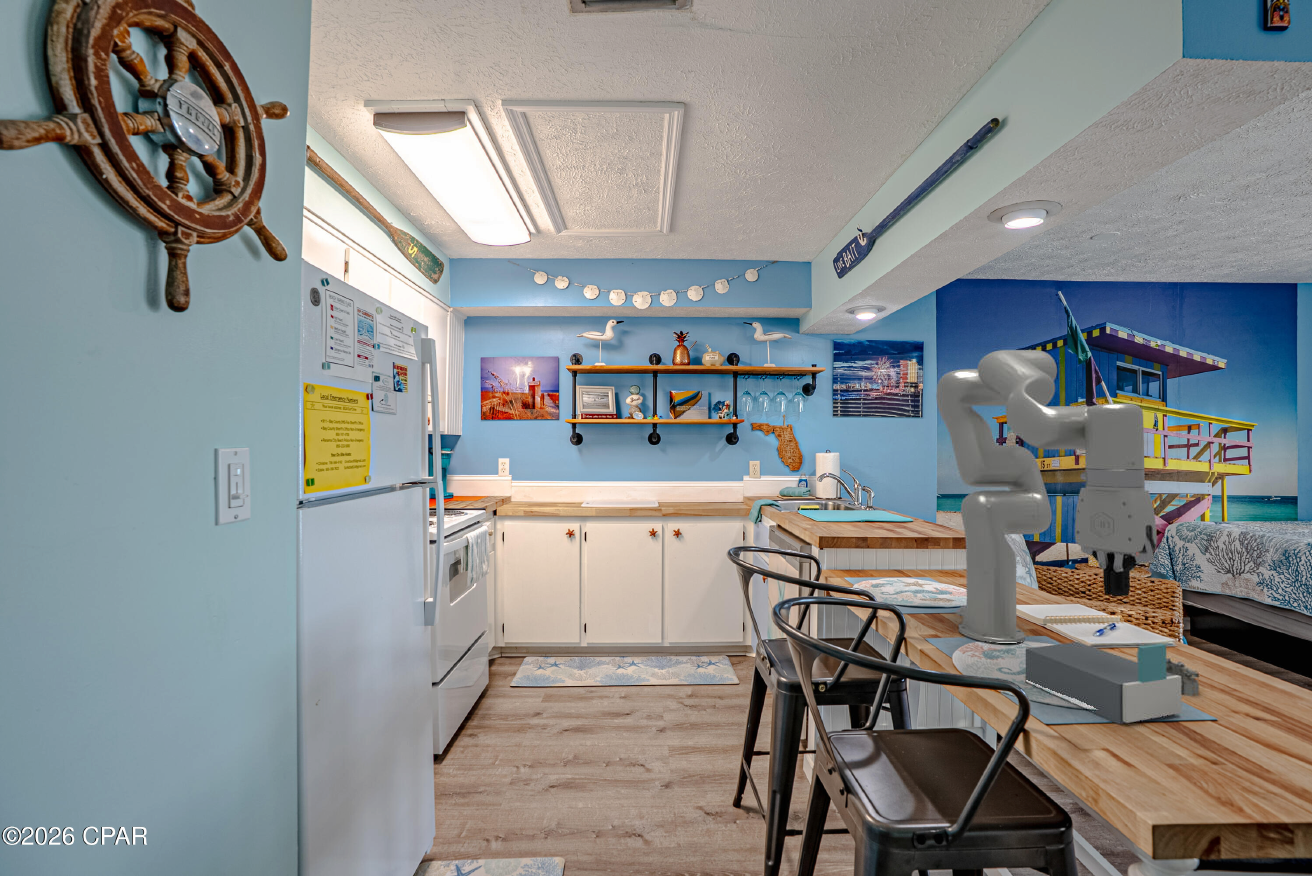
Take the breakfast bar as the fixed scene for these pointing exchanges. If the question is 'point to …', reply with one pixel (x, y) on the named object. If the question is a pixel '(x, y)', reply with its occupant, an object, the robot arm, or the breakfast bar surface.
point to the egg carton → (1183, 677)
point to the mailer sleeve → (1083, 675)
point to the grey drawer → (1151, 688)
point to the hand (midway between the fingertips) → (1116, 594)
